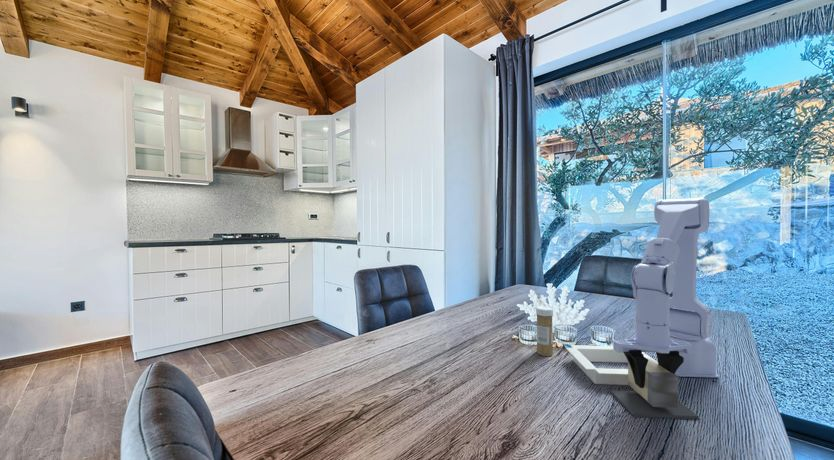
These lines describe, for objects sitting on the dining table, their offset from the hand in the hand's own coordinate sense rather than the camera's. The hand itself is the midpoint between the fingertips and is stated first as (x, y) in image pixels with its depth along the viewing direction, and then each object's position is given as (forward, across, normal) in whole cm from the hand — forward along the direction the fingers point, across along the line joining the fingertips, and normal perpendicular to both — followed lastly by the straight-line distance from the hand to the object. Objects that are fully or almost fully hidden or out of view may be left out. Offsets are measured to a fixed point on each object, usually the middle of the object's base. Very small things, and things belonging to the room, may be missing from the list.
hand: (651, 386), depth 68 cm
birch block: (+2, 0, 0) cm, 2 cm away
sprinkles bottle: (+4, -14, +26) cm, 30 cm away
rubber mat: (+4, 0, 0) cm, 4 cm away
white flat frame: (+4, 0, +15) cm, 16 cm away
